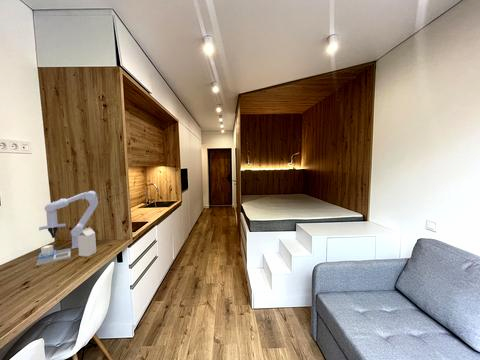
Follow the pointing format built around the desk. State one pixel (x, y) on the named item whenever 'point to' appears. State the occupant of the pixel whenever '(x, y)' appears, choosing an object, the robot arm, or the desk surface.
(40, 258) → the blue bezel
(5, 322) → the desk surface
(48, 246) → the plug
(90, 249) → the milk carton
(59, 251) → the duct panel
